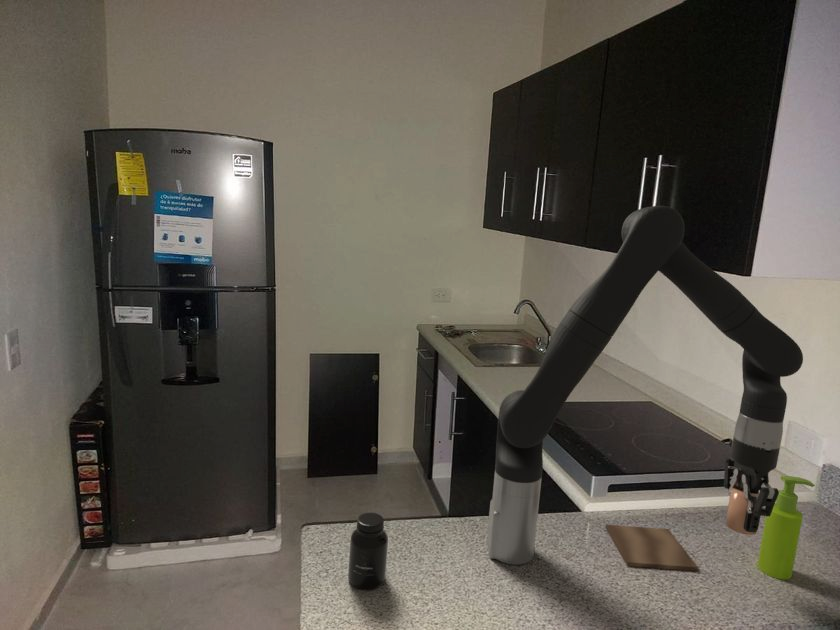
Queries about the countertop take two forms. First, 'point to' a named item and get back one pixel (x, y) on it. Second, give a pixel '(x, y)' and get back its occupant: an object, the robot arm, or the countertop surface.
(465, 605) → the countertop surface
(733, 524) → the spice jar
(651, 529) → the mat
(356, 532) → the supplement bottle
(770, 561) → the soap dispenser
